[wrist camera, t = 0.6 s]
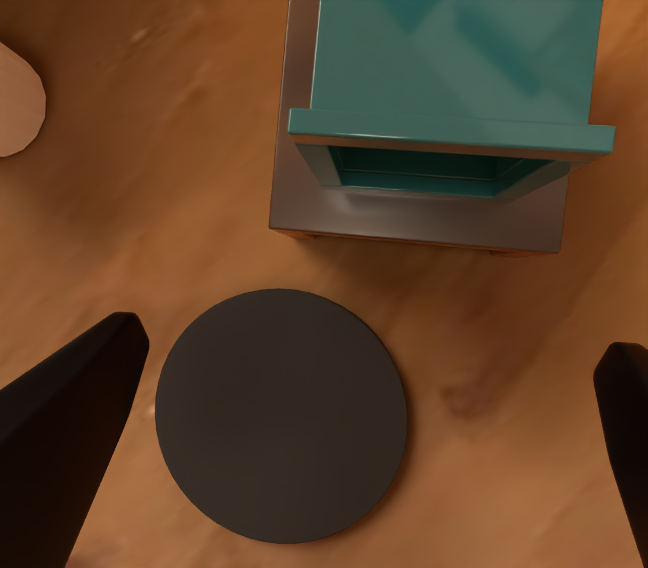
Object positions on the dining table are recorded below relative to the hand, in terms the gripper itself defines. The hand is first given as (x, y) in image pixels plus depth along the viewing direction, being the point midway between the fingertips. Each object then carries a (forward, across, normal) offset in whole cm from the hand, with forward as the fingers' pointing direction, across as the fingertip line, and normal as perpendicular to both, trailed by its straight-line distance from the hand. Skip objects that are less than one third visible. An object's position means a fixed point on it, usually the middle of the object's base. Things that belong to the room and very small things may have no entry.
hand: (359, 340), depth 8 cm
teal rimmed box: (+11, -2, -1) cm, 12 cm away
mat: (+6, +4, +13) cm, 15 cm away
